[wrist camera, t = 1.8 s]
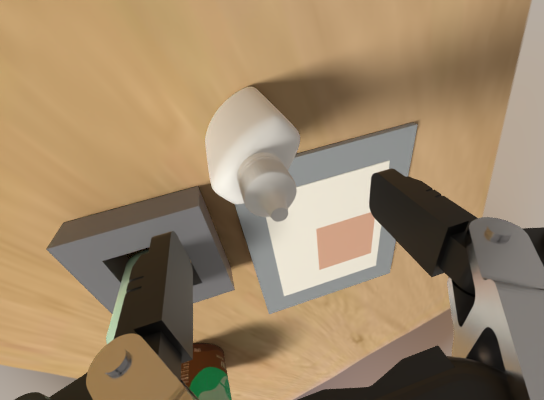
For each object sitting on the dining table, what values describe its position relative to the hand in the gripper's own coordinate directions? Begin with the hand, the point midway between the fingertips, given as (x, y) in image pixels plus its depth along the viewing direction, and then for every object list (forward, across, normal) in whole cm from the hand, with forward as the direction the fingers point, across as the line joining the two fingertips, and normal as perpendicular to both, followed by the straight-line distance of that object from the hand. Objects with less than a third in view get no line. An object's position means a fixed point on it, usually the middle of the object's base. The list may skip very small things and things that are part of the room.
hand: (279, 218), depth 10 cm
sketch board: (+12, -7, +15) cm, 20 cm away
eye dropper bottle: (+12, 0, 0) cm, 12 cm away
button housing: (+12, +10, +10) cm, 18 cm away
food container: (+13, +12, +32) cm, 36 cm away
